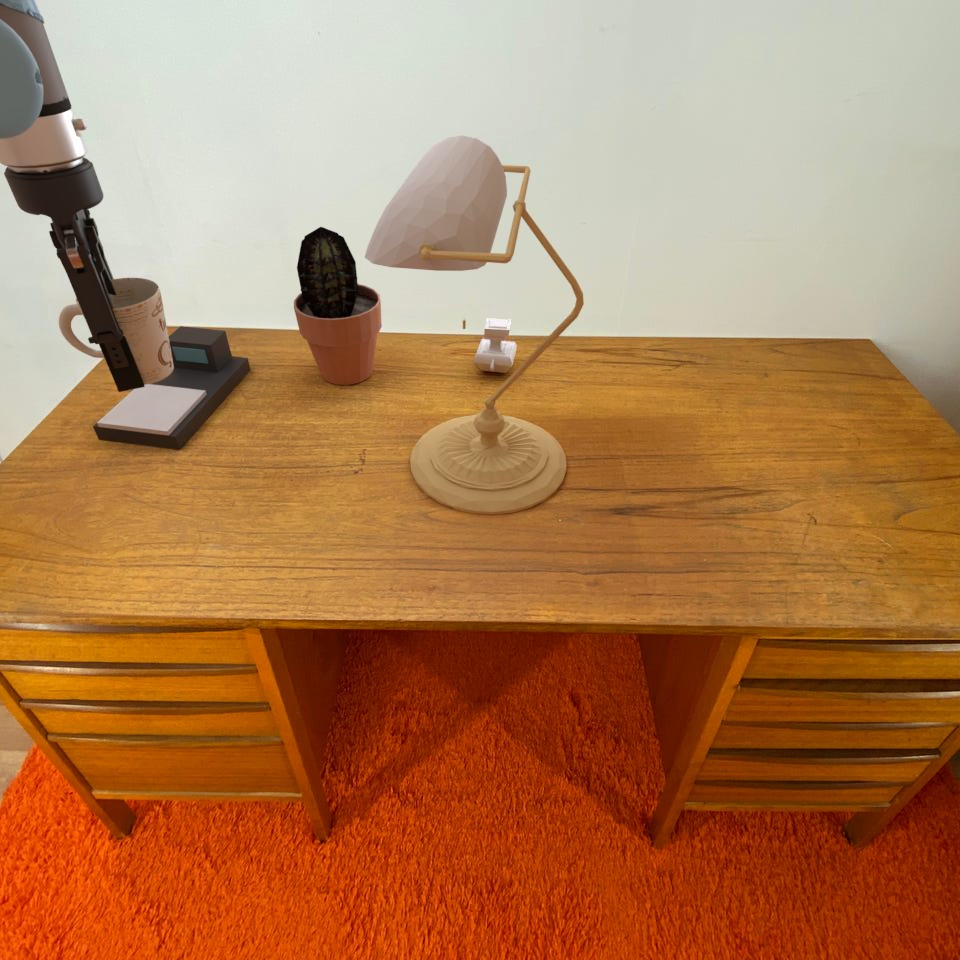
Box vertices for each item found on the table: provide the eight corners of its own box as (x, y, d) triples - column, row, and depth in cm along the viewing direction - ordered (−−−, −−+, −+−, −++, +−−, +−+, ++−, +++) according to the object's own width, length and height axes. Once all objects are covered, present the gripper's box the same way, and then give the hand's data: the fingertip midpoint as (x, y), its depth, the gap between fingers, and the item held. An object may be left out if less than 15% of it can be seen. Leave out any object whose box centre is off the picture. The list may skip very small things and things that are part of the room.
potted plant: (403, 366, 111) (392, 219, 95) (349, 402, 103) (328, 247, 86) (344, 345, 117) (325, 202, 101) (289, 377, 108) (258, 227, 92)
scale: (180, 450, 92) (164, 407, 88) (98, 439, 94) (78, 397, 89) (250, 370, 110) (241, 330, 105) (180, 362, 111) (168, 323, 107)
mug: (169, 391, 73) (140, 310, 67) (59, 389, 73) (19, 308, 66) (194, 355, 79) (170, 278, 73) (93, 353, 79) (60, 275, 73)
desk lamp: (425, 396, 104) (412, 120, 78) (567, 407, 102) (601, 128, 76) (381, 528, 81) (341, 196, 55) (564, 545, 79) (612, 210, 53)
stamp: (480, 353, 115) (481, 309, 110) (517, 356, 115) (519, 312, 109) (472, 378, 109) (472, 333, 103) (510, 382, 108) (513, 337, 102)
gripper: (89, 185, 55) (170, 408, 70) (91, 135, 68) (158, 331, 83) (-11, 195, 53) (95, 424, 68) (10, 142, 66) (95, 342, 81)
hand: (130, 372), depth 75 cm, fingers closed on mug, 6 cm apart
